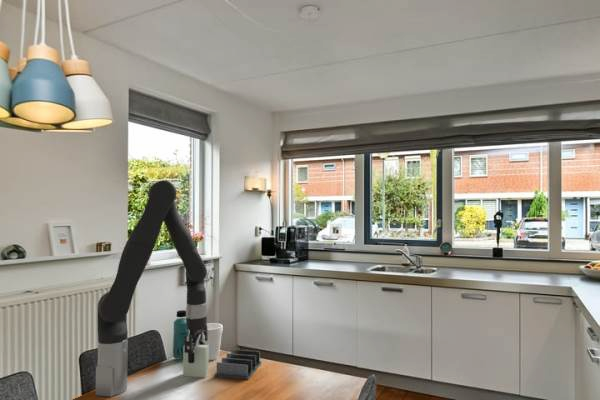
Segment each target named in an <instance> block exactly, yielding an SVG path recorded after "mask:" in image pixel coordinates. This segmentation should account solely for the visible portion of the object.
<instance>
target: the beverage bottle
mask: <svg viewBox="0 0 600 400" xmlns="http://www.w3.org/2000/svg"><path fill="white" fill-rule="evenodd" d="M189 333H190V330H188V329H187V328H186V309H182V310H177V311H176V319H175V320H174V321H173V340H172V342H173V344H172V356H173V357H172V358H174V359H175V360H176V359H178V360H183V346H184V345H185V336H189Z"/></svg>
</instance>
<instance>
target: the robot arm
mask: <svg viewBox="0 0 600 400" xmlns="http://www.w3.org/2000/svg"><path fill="white" fill-rule="evenodd" d="M177 195H178V193H177V189H176V186H175V185H174V184H173V183H172V182H171V181H169V180H159V181H156V182H154V183H153V184H152V185H150V187H149V188H148V192H147V196H148V197H147V198H148V199H147V202H146V206H145V207H144V211H143V213H142V215H141V217H140V219H138V221H137V222H136V224H135V226H134V227H133V229H132V231H131V232H130V235H129V236H128V238H127V240H126V242H125V246H124V247H123V249H122V253H121V256H120V259H119V262H118V266H117V271H116V275H115V279H114V280H113V283H112V285H111V287H110V289H109V291H108V292H106V293H104V294H103V295H102V296H101V297H100V298H99V300H98V302H97V366H95V396H102V397H108V398H109V397H110V398H111V397H113V396H116V395H119V394H122V393H124V392H125V391H126V390H127V389H128V343H129V341H128V340H129V339H128V338H129V337H128V335H129V334H128V333H129V332H128V323H127V322H128V321H127V314H128V313H129V311H130V307H131V303H132V300H133V297H134V294H135V291H136V288H137V285H138V283H139V280H140V279H141V277H142V275H143V273H144V271H145V270H146V269H145V268H146V266H147V265H148V262H149V260H150V258H151V256H152V253H153V251H154V249H155V247H156V243H157V240H158V239H159V235H160V232H161V229H162V225H163V223H164V225H165V227H166V229H167V232H168V235H169V236H170V239H171V241H172V243H173V246H174V248H175V250H176V252H177V255H178V257H179V259H180V260H181V261H182V264H183V266H184V268H185V269H184V270H185V282H186V283H185V284H186V306H185V307H186V308H185V311H186V317H185V318H186V328H187V329H188V330H189V336H185V350H184V352H185V353H188V363H194V362H195V352H194V351H195V348H196V347H197V345H205V343H206V341H207V340H208V334H207V323H208V321H207V319H208V318H207V315H208V314H207V313H208V312H207V311H208V309H207V291H206V288H205V279H206V277H207V273H208V269H207V266H206V264H205V262H204V260H203V259H202V257H201V254H200V253H199V250H198V248H197V245H196V243H195V240H194V239H193V237H192V235H191V232H190V231H189V229H188V227H187V226H186V224H185V221H183V219H182V217H181V215H180V213H179V210H178V209H177V205H176V198H177ZM204 335H205V336H204ZM187 346H188V349H187ZM192 347H193V349H192Z"/></svg>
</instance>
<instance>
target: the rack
mask: <svg viewBox="0 0 600 400" xmlns="http://www.w3.org/2000/svg"><path fill="white" fill-rule="evenodd" d="M261 364H262V360H261V351H260V350H249V349H248V350H247V349H235V348H232V349H230V353H228V352H227V353H226V357H221V362H218V361H217V362H216V372H215V373H214V378H222V379H223V378H224V379H225V378H226V379H237V380H245V381H248V380H249V379H251V377H252V376H253V374H254V373H255V372H256V371H257V370H258V368H259V367H260V366H261Z"/></svg>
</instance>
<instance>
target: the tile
mask: <svg viewBox="0 0 600 400" xmlns="http://www.w3.org/2000/svg"><path fill="white" fill-rule="evenodd" d="M187 349H188V346H187ZM192 349H193V347H192ZM184 350H185V345H184V346H183V358H182V361H183V362H182V364H183V365H182V366H183V367H182V373H183V375H182V376H184V377H185V376H186V377H194V378H195V377H197V378H207V377H208V376H209V371H210V370H209V369H210V368H209V365H210V360H209V345H199V344H198V345H197V347H196V348H195V351H194V352H195V362H194V363H188V353H185V352H184Z"/></svg>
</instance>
